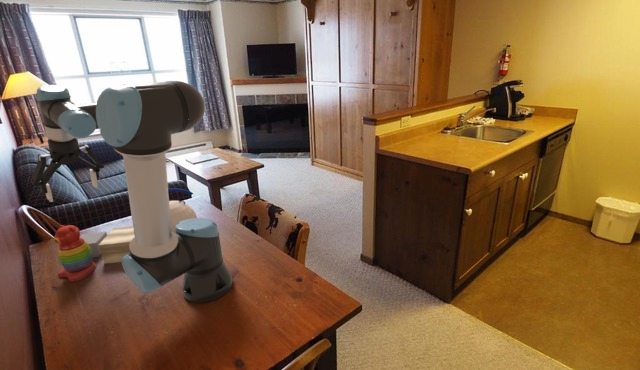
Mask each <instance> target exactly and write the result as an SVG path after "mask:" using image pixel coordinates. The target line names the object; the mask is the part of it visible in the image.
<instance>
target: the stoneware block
mask: <svg viewBox="0 0 640 370" xmlns="http://www.w3.org/2000/svg"><path fill="white" fill-rule="evenodd" d="M107 235H108V233H107V232H106V231H100V232H91V233H81V234H80V238H82V239H84V240H85V241H86V242H87V243H88V245H89V246H90V248H91V250H92V255H93V256H92V257H93V258H96V257H102V255H101V252H100V249H99V246H98V245H99V244H100V243H101V242H102V241H103V239H104V238H105V237H106V236H107Z"/></svg>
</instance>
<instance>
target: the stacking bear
mask: <svg viewBox="0 0 640 370" xmlns="http://www.w3.org/2000/svg"><path fill="white" fill-rule="evenodd" d="M80 236H81V231H80V229H79V228H78V227H77V226H76V225H72V224H68V225H62V224H61V225H59V228H58V229H57V230H56V233H55V235H54V237H53V239H54V242H55V243H56V244H58V246H57V247H58V249H57V252H58V260H59V263H60V264H61V266H62V267H63V268H61V269H60V270H59V271H58V276H59V277H60V278H67V279H68V281H69V282H71V283H74V282H78V281H80V280H82V279H85V278H86V277H87V276H88V275H90V274H91V273H93V272H94V271H95V270H96V267H97V264H96V262H94V261H93V260H94V257H92V256H93V255H92V250H91V248H90V246H89V245H88V243H87V242H86V241H85V240H84V239H82V238H80Z"/></svg>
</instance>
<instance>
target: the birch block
mask: <svg viewBox="0 0 640 370" xmlns="http://www.w3.org/2000/svg"><path fill="white" fill-rule="evenodd" d="M134 237H135V236H134V229H133V226H124V227H116V228H112V230H111V231H110V232H108V233H107V236H106V237H105V238H104V239H103V241H102V242H101V243H100V244H99V245H98V246H99V249H100V252H101V258H102V261H103V264H105V265H106V264H112V263H113V264H115V263H122V262H121V260H122V258H123V257H124V256H125V255H128V254H130V249H129V244H130V242H131V240H132V239H133V238H134Z"/></svg>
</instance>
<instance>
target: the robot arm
mask: <svg viewBox="0 0 640 370" xmlns="http://www.w3.org/2000/svg"><path fill="white" fill-rule="evenodd" d="M36 96H37V100H36V101H37V102H38V105H39V109H40V114H41V119H42V122H43V127H44V131H45V137H46V140H47V145H48V149H49V153H48V154H43V153H38V154H37V163H36V166H35V167H34V171H33V174H32V176H31V179H30V183H31V184H33V186H34V187H38V186H39V188H40V191H41V192H42V193H43V194H44V195H45V196H46V199H47V200H48V201H49V202H50V203H53V202H54V199H53V194H52V190H51V185H50V184H49V183H48V182H49V181H50V180H51V178H52V177H53V175H54V174H55V173H56V171H57V170H58V169H60V168H61V167H62V165H63V166H66V165H68V164H74V163H75V162H79V163H81V164H82V165H84V166H85V167H88V168H89V174H90V179H91V180H90V181H91V186H93V187H94V188H95V189H99V184H98V179H99V178H100V171H101V169H104V168H105V165H104V164H103V163H102V162H101V160H99V159H98V158H97V156H96V155H95V154H94V153H93V152H92V149H91V147H90V146H89V145H87V144H86V143H84V144H83V145H82V146H79V141H78V139H84V138H87V137H89V136H90V135H92V134H94V132H95V131H96V130H100V131H99V132H100V134H101V135H100V136H101V137H102V139H103V140H104V141H105V143H106V144H108V145H109V146H111V147H112V148H113V150H114V151H115V152H116V153H118V154H120V155H121V156H122V160H123V165H124V173H125V178H126V179H125V180H126V186H127V192H128V200H129V208H130V214H131V221H132V227H133V229H134V236H135V237H134V238H133V239H132V240H131V242H130V244H129V249H130V254H128V255H125V256H124V257H123V258H122V260H121V262H120V263H121V266H122V267H123V270H124V272H125V274H126V276H127V278H128V279H129V280H130V281H131V282H132V285H134V286H135V287H136V288H137V289H138V290H139V291H141V292H142V293H145V294H149V293H153V292H154V291H156V290H158V289H161V288H163V286H166V285H168V284H169V283H170V282H173V281H174V280H176V279H178V278H179V277H181V276H182V275H183V278H182V279H183V280H182V285H181V286H182V287H181V289H182V294H183V297H184V299H185V300H186V301H189V302H192V303H195V304H197V303H198V304H199V303H201V304H202V303H203V304H204V303H208V302H212V301H215V300H218V299H220V298H221V297H223V296H224V295H226V294H228V292H229V291H230V290H231V288H232V286H233V278H232V277H233V276H232V273H231V271H230V270H229V269H228V266H226V265H227V264H226V263H225V262H224V258H223V250H222V246H221V240H220V231H219V228H218V226H217V223H216V222H215V221H214V220H212V219H210V218H205V217H197V218H192V219H187V220H183V221H181V222H179V223H177V225H176V226H175V231H176V232H175V233H173V232H172V231H171V219H170V206H169V201H170V196H169V192H168V188H169V183H168V182H169V181H168V171H167V160H166V157H167V156H166V154H167V153H168V152H169V150H171V149H172V145H173V144H172V135H175V134H178V133H182V132H186V131H187V132H188V131H190V130H191V129H193V128H194V127H197V126H198V125H199V124H200V122H201V120H203V118H204V115H205V111H206V107H205V106H206V104H205V100H204V98H203V95H202V94H201V93H200V91H199V90H198V89H197V88H196V87H194V86H193V85H191V84H189V83H186V82H184V81H178V80H166V81H158V82H157V81H155V82H145V83H144V82H143V83H133V84H131V83H126V84H122V85H116V86H111V87H107V88H105V89H104V90H103V91H102V92H101V93H100V94H99V96H98V98H97V101H96V102H91V103H82V104H81V103H80V104H75V103H74V102H73V101H71V95H70V92H69V89H68V88H66V87H65V86H62V85H58V84H57V85H56V84H46V85H40V87H38V88H37V89H36ZM82 152H83V153H84V154H86V155H87V156H88V157H89V158H90V159H91V160H92V161H93V162H94V164H93V163H91V162H89V161H88V160H86V159H84V158H83V157H81V156H80V155H81V153H82ZM50 159H51V160H50ZM49 160H50V163H49V164H48V166H47V163H48V162H49ZM46 166H47V168H46Z"/></svg>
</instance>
